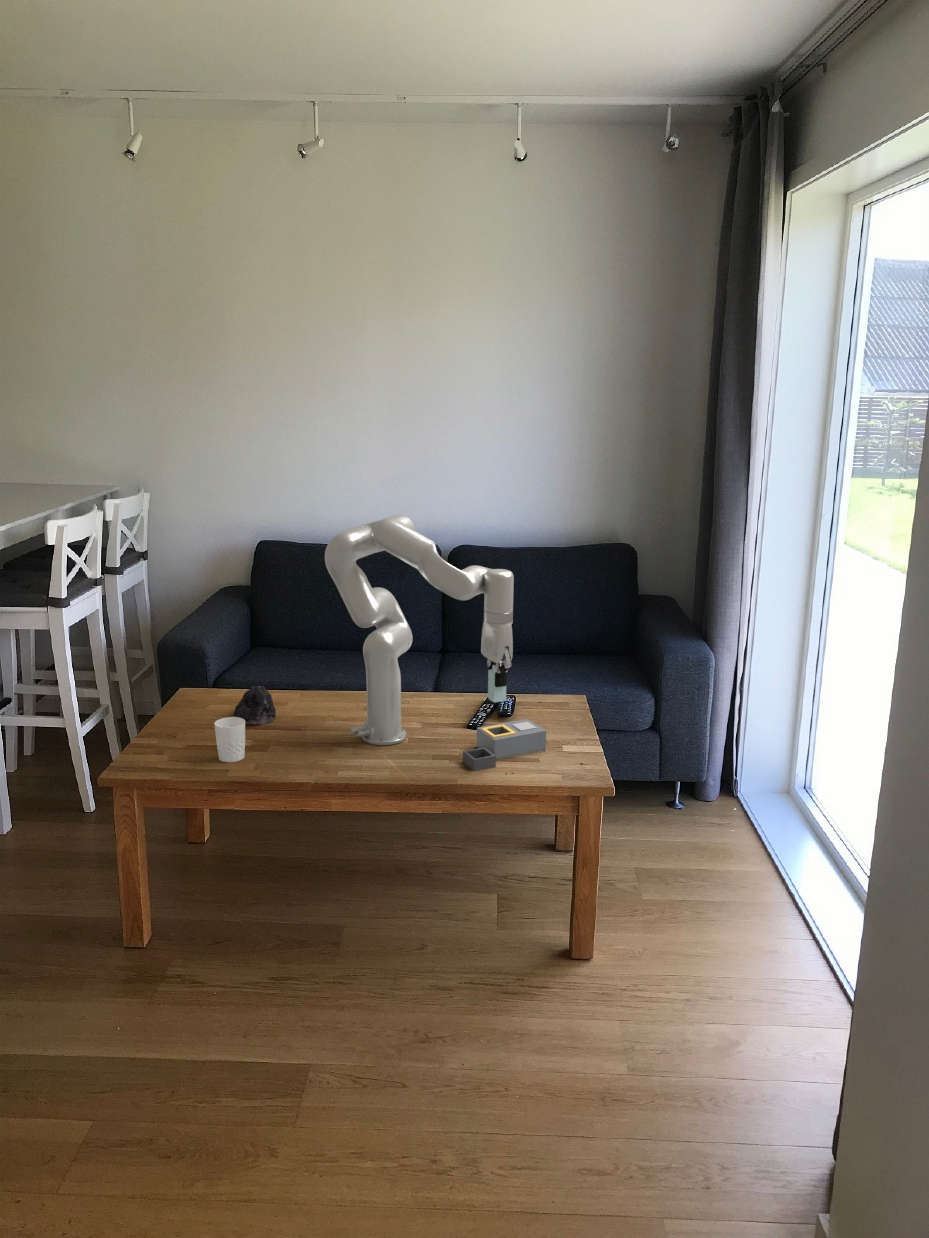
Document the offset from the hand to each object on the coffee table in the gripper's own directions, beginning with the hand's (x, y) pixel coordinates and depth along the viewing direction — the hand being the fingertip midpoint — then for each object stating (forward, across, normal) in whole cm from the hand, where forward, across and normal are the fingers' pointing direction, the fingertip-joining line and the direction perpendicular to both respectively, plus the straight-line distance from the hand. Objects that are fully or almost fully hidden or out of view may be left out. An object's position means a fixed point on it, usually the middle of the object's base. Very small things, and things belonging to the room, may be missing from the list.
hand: (496, 683), depth 245 cm
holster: (+20, +5, -7) cm, 22 cm away
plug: (+5, 0, 0) cm, 5 cm away
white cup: (+20, -26, -66) cm, 73 cm away
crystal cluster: (+21, -53, -53) cm, 78 cm away
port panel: (+20, -1, +5) cm, 21 cm away
